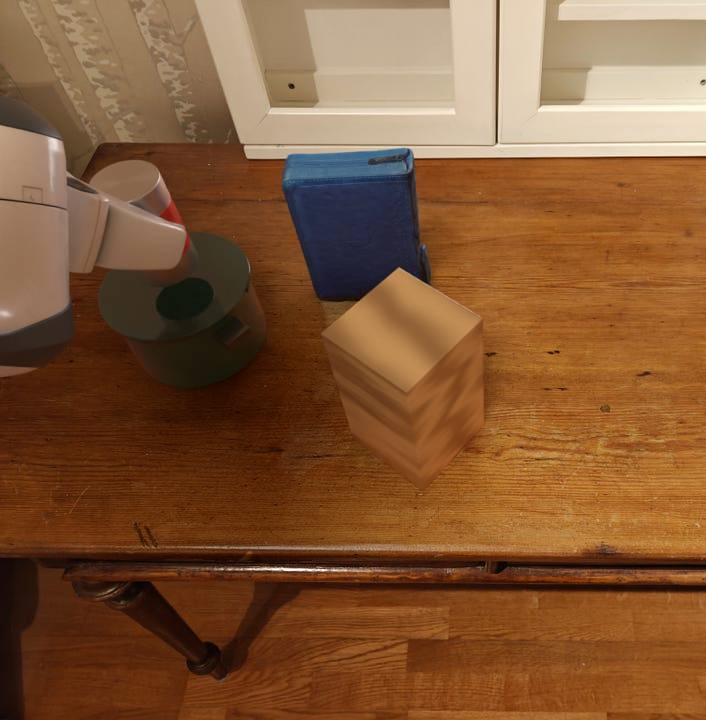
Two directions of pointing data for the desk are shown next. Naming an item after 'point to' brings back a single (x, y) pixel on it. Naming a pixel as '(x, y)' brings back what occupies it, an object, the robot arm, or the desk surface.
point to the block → (409, 375)
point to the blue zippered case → (355, 219)
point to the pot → (190, 316)
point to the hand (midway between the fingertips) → (150, 218)
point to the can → (150, 194)
